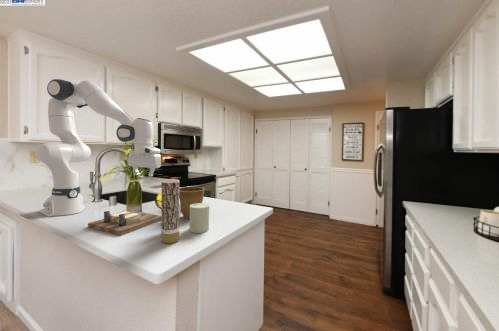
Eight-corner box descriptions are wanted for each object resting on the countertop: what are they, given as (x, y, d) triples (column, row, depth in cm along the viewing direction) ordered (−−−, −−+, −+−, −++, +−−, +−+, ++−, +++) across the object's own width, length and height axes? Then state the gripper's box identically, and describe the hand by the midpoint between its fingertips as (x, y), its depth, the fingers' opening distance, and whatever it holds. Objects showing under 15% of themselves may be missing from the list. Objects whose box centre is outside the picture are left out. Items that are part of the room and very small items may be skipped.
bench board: (87, 227, 102) (87, 212, 102) (132, 214, 125) (132, 201, 124) (121, 235, 94) (121, 219, 94) (162, 219, 116) (162, 206, 116)
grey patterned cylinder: (173, 245, 87) (173, 182, 85) (157, 243, 88) (157, 181, 86) (182, 238, 93) (182, 179, 91) (167, 236, 95) (167, 178, 93)
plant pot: (197, 212, 132) (198, 185, 131) (208, 218, 120) (209, 189, 119) (172, 215, 124) (172, 187, 122) (181, 223, 112) (181, 192, 110)
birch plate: (108, 221, 106) (108, 214, 106) (123, 216, 113) (123, 210, 113) (126, 224, 102) (126, 218, 101) (140, 219, 109) (140, 214, 109)
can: (198, 224, 110) (198, 201, 110) (213, 228, 106) (213, 203, 105) (185, 230, 102) (185, 205, 101) (200, 234, 98) (200, 208, 97)
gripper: (124, 148, 117) (124, 174, 118) (153, 150, 109) (153, 177, 110) (134, 149, 123) (134, 173, 124) (163, 150, 115) (163, 176, 116)
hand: (144, 175), depth 117 cm, fingers open, 8 cm apart
